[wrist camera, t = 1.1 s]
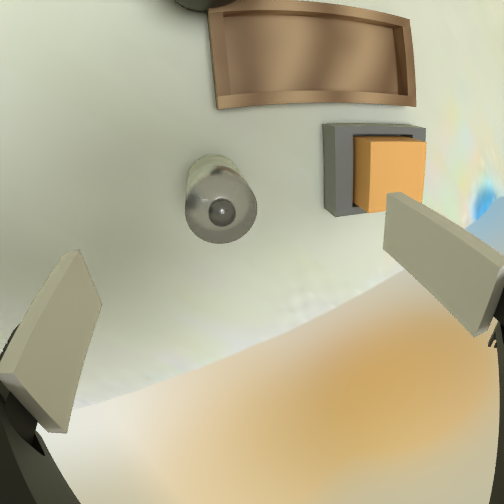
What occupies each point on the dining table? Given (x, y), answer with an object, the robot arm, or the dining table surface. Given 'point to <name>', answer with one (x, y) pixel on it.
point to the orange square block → (387, 169)
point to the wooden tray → (309, 54)
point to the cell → (218, 200)
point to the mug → (203, 4)
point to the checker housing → (351, 160)
